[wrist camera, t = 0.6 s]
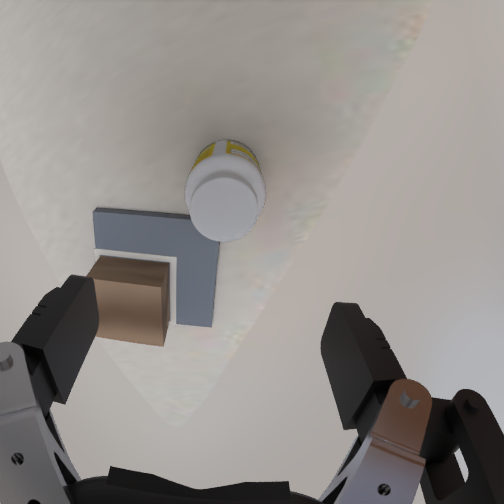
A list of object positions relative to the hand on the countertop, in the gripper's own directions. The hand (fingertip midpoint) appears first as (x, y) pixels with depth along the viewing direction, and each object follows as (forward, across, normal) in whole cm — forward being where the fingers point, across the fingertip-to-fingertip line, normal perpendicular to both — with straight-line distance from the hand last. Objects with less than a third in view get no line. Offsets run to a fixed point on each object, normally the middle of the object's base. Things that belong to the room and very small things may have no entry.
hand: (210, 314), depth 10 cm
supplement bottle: (+19, 0, -1) cm, 19 cm away
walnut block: (+18, +8, +12) cm, 23 cm away
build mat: (+19, +6, +10) cm, 22 cm away
